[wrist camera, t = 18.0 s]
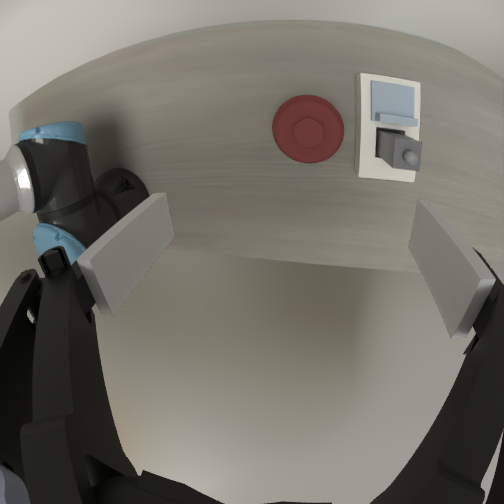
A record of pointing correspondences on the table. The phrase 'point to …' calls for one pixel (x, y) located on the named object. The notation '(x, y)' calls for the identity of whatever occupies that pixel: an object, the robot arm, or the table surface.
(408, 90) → the panel
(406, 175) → the socket
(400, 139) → the plug
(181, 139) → the table surface
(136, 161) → the table surface
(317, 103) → the mechanical component
